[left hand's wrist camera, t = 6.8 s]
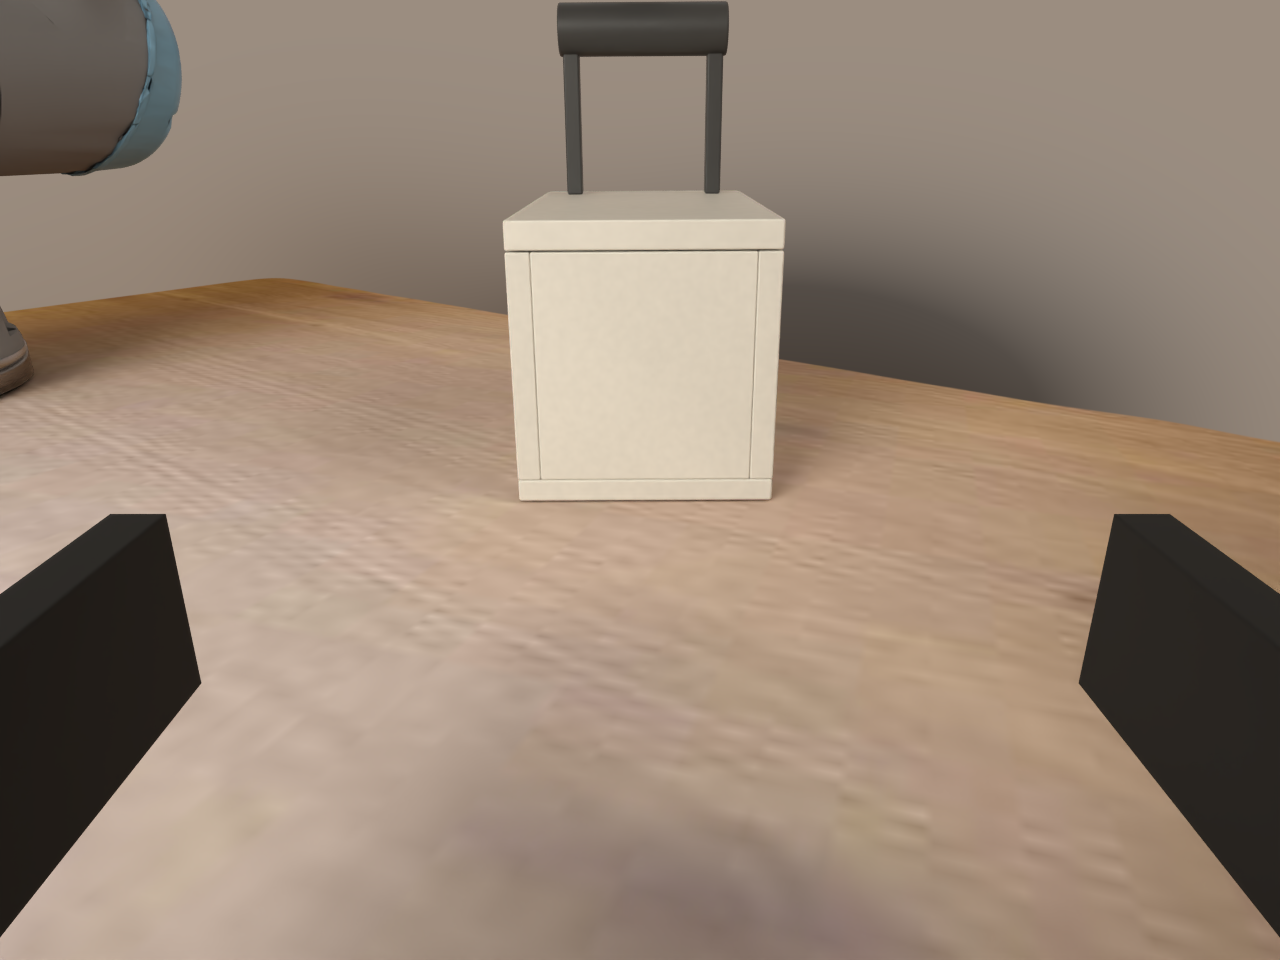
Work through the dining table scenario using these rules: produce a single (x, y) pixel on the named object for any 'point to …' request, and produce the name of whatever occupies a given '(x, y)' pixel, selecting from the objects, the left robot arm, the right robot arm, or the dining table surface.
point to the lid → (643, 213)
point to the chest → (644, 372)
